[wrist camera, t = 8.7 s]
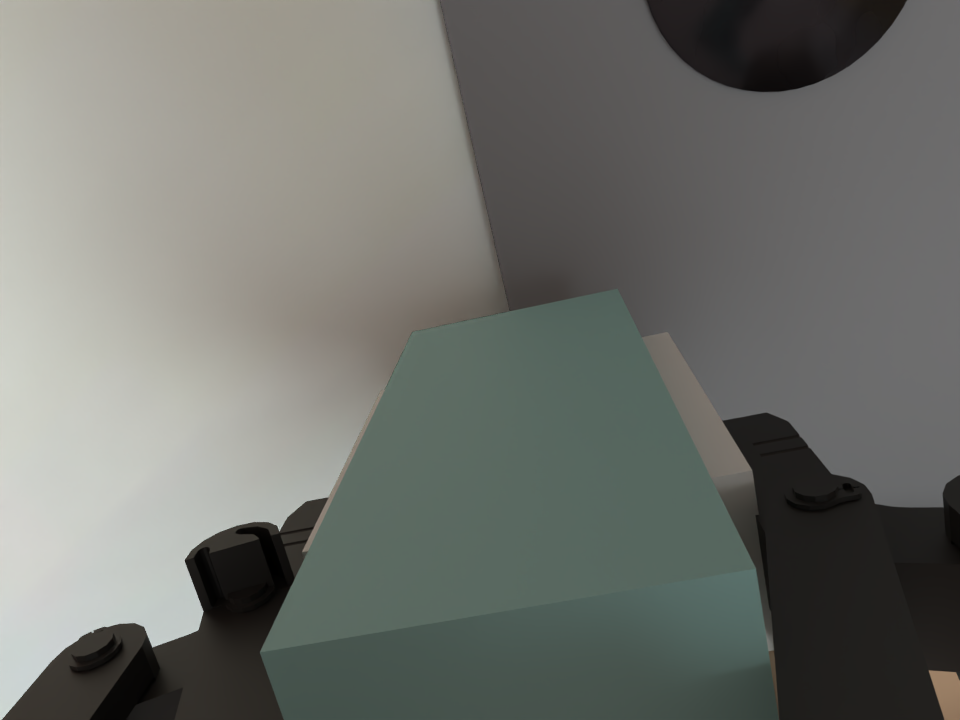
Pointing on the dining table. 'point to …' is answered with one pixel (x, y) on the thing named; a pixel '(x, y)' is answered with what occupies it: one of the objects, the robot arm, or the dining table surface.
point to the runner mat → (741, 217)
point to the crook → (525, 543)
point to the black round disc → (772, 38)
